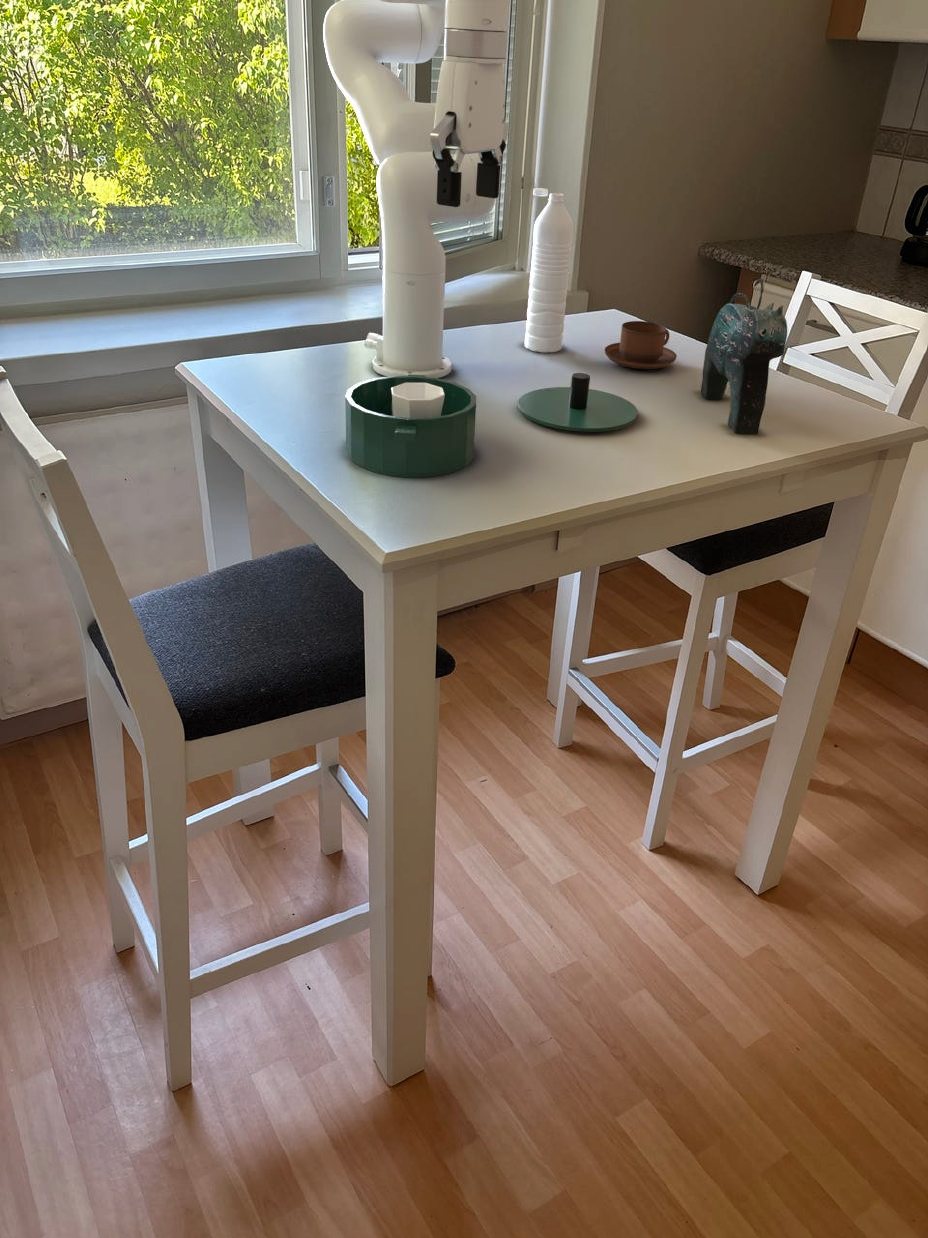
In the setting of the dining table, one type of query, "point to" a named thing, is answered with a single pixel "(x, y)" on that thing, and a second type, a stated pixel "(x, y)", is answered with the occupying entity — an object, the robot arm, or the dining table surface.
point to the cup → (417, 400)
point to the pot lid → (577, 407)
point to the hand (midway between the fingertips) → (468, 200)
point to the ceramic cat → (743, 359)
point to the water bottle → (549, 275)
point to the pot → (409, 430)
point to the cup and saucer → (642, 346)
